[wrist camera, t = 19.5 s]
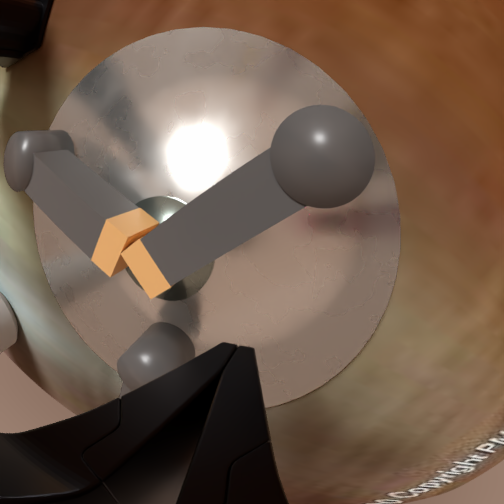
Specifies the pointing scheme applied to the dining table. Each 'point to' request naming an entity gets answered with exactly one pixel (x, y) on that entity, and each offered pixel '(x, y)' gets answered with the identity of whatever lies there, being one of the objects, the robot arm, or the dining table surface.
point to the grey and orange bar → (154, 355)
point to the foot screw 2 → (259, 195)
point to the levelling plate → (202, 178)
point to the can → (7, 325)
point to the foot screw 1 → (75, 196)
